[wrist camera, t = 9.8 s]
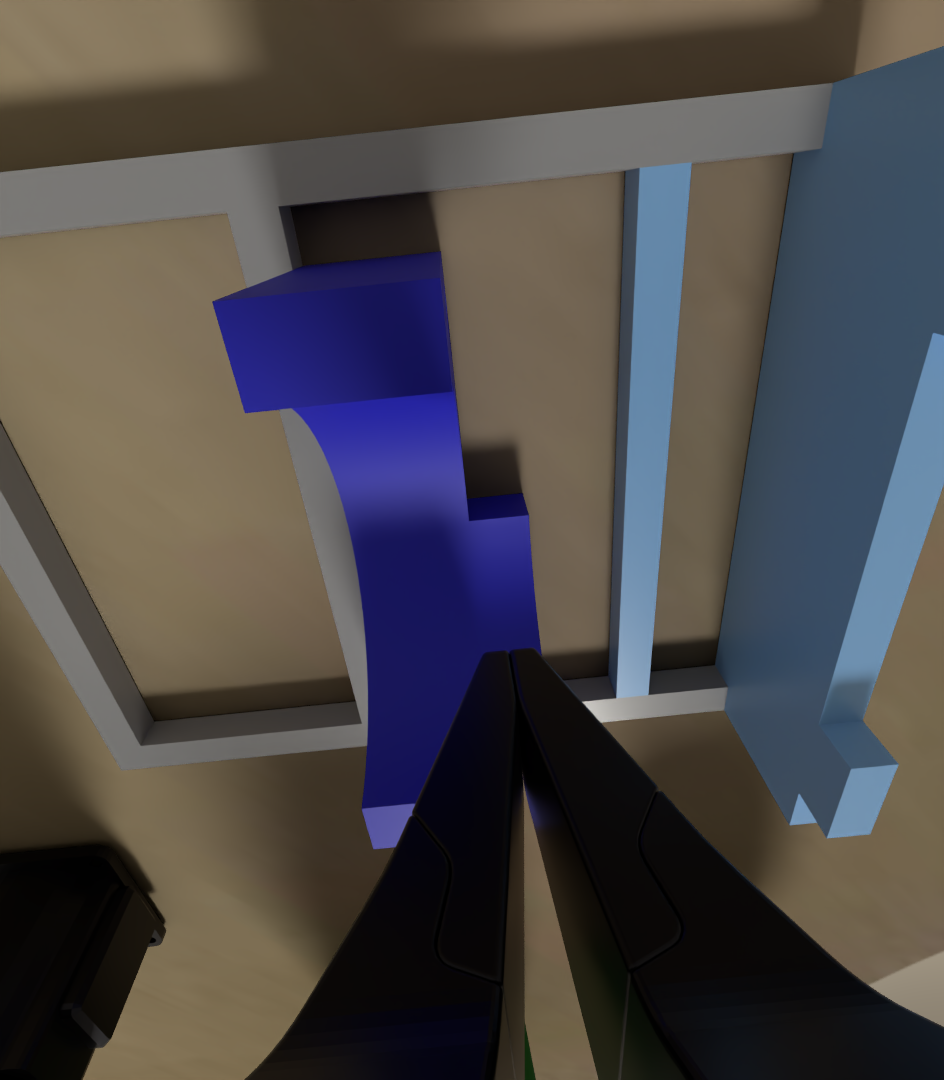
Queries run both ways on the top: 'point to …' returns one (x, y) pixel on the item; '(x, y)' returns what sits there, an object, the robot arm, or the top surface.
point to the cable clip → (393, 494)
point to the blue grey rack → (618, 410)
